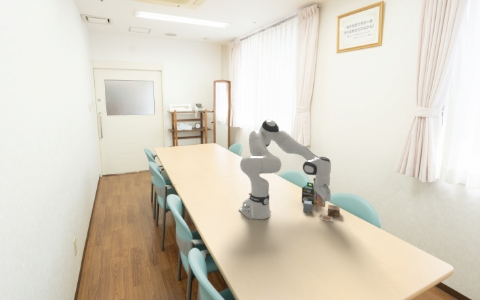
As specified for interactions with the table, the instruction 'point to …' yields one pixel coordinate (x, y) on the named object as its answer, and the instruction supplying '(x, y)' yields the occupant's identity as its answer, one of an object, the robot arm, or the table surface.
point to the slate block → (307, 206)
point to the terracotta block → (319, 201)
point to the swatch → (326, 218)
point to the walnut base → (333, 210)
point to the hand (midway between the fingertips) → (321, 202)
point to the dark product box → (309, 193)
